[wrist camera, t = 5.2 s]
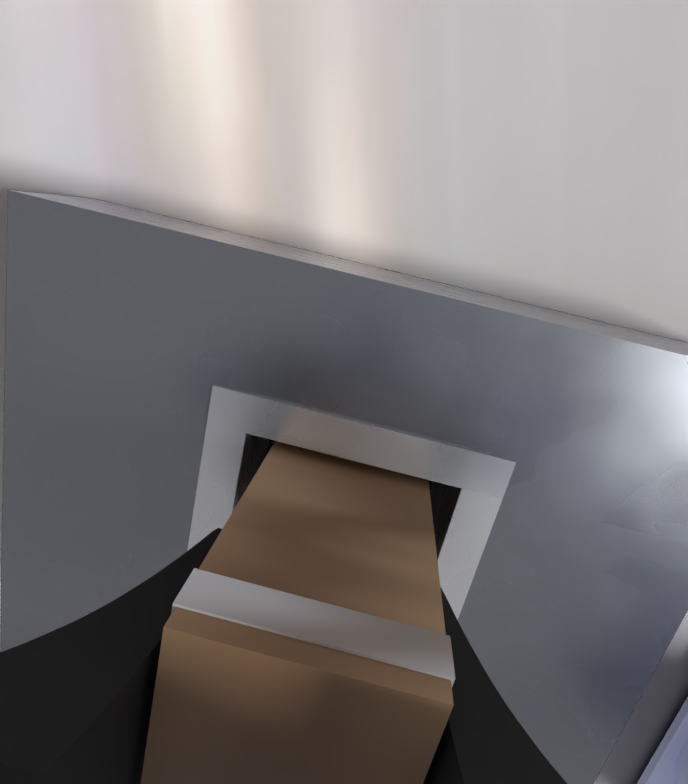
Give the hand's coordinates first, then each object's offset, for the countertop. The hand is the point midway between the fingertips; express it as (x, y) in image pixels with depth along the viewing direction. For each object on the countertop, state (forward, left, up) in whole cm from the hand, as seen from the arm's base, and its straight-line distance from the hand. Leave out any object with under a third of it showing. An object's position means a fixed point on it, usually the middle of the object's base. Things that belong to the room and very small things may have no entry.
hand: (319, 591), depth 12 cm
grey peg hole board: (0, 0, -5) cm, 5 cm away
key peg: (0, 0, -3) cm, 4 cm away
